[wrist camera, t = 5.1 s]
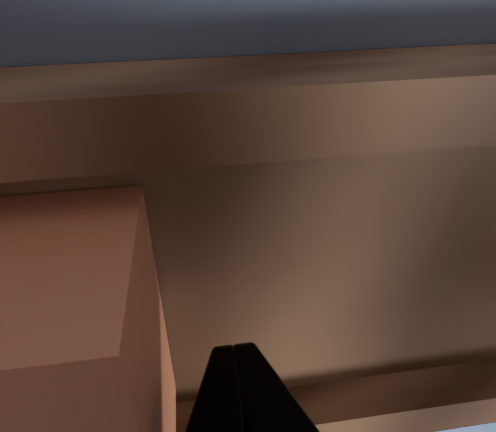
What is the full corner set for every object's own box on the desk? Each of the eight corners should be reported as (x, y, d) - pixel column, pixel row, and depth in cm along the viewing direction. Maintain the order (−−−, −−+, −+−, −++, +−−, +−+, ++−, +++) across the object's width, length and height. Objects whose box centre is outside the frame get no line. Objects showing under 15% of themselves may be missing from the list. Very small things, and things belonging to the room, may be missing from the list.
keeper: (141, 185, 8) (118, 355, 5) (175, 387, 11) (176, 573, 8) (-150, 208, 8) (-411, 421, 4) (-27, 414, 11) (-118, 627, 7)
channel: (670, 34, 9) (955, 86, 6) (519, 351, 15) (622, 473, 11) (-421, 87, 7) (-976, 221, 4) (-125, 439, 12) (-236, 623, 9)
